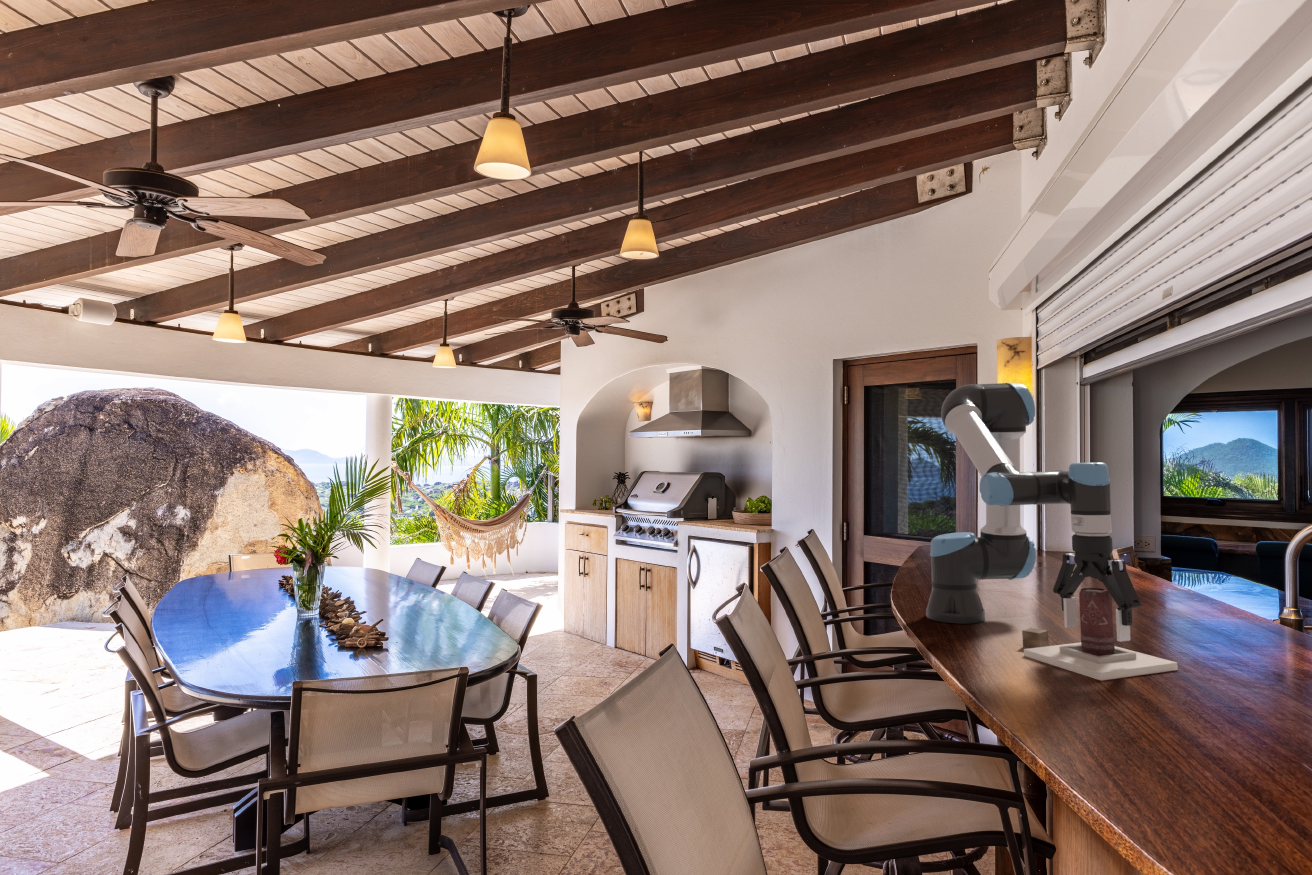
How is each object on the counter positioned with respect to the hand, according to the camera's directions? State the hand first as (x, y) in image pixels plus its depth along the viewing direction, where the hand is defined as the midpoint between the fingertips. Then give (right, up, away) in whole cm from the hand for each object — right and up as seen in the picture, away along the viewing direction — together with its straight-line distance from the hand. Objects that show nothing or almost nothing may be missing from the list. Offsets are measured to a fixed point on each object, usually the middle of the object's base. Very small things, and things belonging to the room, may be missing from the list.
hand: (1096, 633), depth 159 cm
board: (0, -6, 0) cm, 6 cm away
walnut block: (-6, -7, +14) cm, 16 cm away
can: (+1, -5, 0) cm, 5 cm away
